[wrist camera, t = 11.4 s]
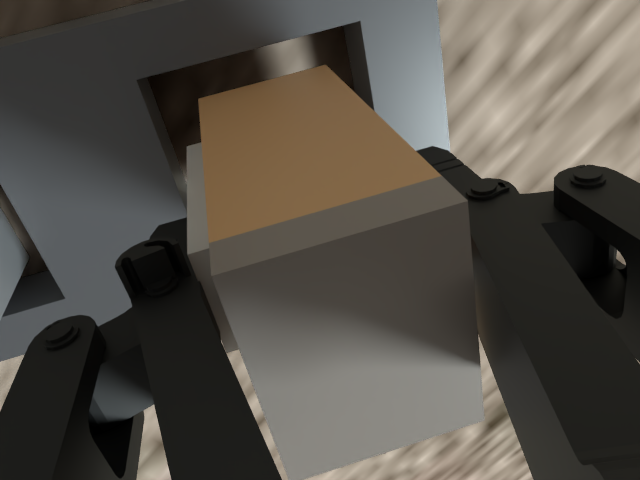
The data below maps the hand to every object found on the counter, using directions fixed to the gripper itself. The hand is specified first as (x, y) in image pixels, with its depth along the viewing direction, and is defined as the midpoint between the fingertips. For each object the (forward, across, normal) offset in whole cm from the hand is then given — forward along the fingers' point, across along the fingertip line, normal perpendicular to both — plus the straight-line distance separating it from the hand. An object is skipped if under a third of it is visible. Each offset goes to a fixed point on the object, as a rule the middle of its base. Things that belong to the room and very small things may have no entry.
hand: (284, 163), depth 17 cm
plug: (+1, 0, 0) cm, 1 cm away
